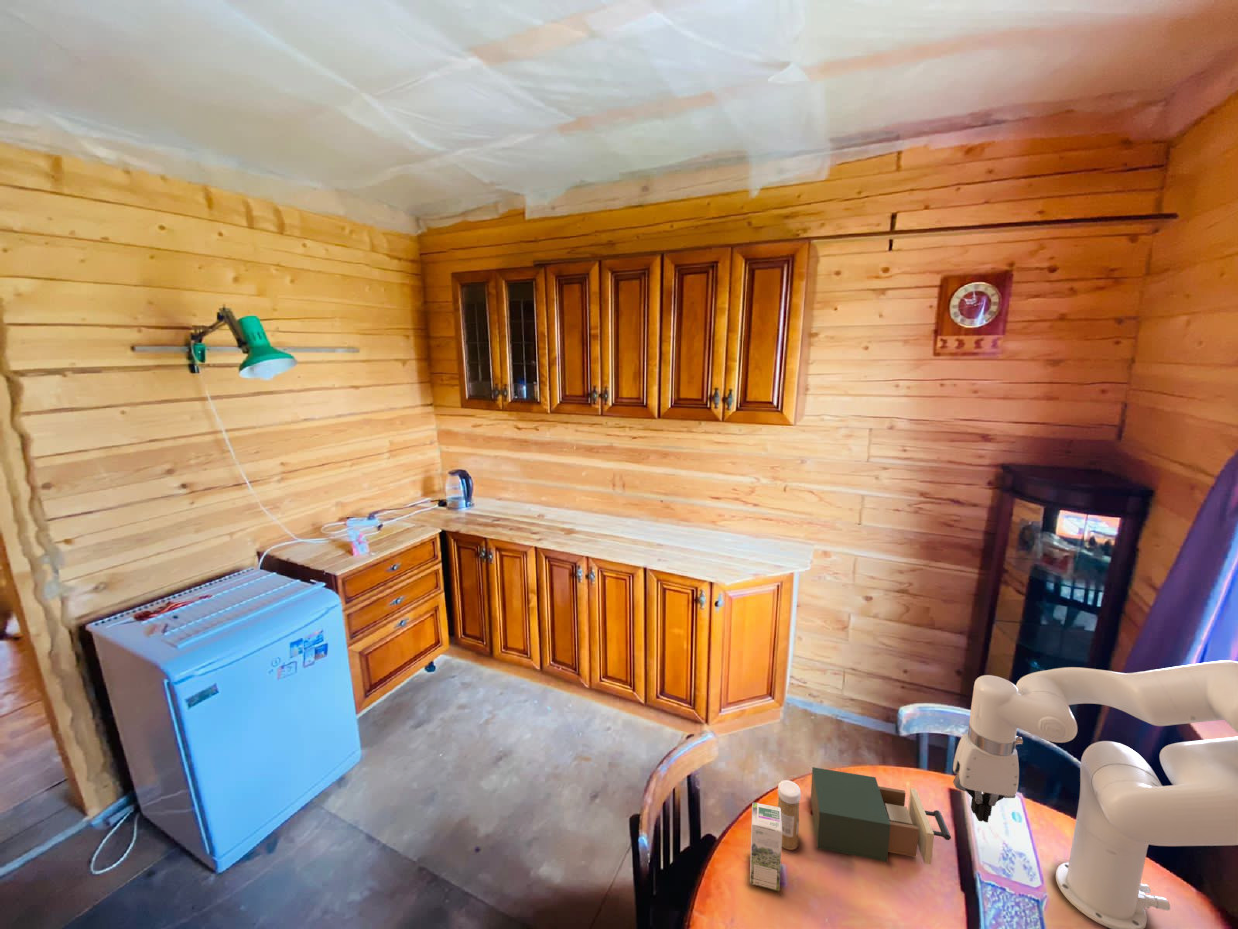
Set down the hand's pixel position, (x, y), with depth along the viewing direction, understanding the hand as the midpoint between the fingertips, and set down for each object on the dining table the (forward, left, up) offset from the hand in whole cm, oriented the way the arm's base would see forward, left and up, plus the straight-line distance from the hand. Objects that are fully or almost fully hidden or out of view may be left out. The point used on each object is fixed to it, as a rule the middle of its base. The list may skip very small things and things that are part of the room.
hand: (979, 816), depth 104 cm
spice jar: (+38, +6, -9) cm, 40 cm away
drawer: (+14, 0, -8) cm, 17 cm away
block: (+15, 0, -7) cm, 17 cm away
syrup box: (+43, +15, -9) cm, 47 cm away
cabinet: (+25, 0, -9) cm, 27 cm away
